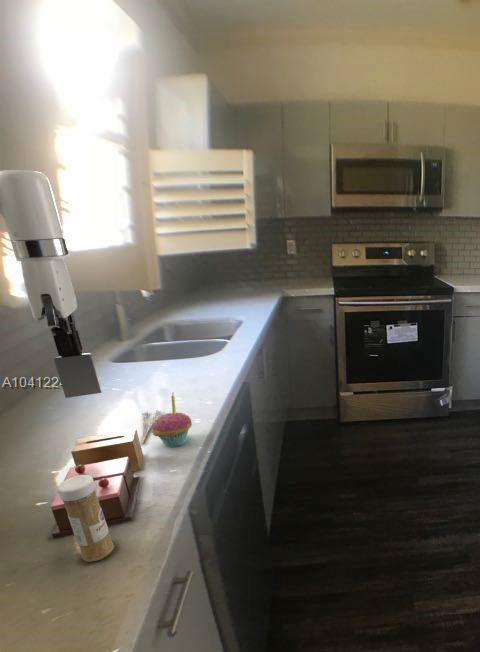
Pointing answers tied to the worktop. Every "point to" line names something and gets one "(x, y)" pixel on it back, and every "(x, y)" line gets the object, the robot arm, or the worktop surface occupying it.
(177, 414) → the cupcake
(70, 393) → the knife
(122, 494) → the pink double-door cabinet
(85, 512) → the sprinkles bottle
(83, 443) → the knife block
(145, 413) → the tweezers
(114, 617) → the worktop surface
